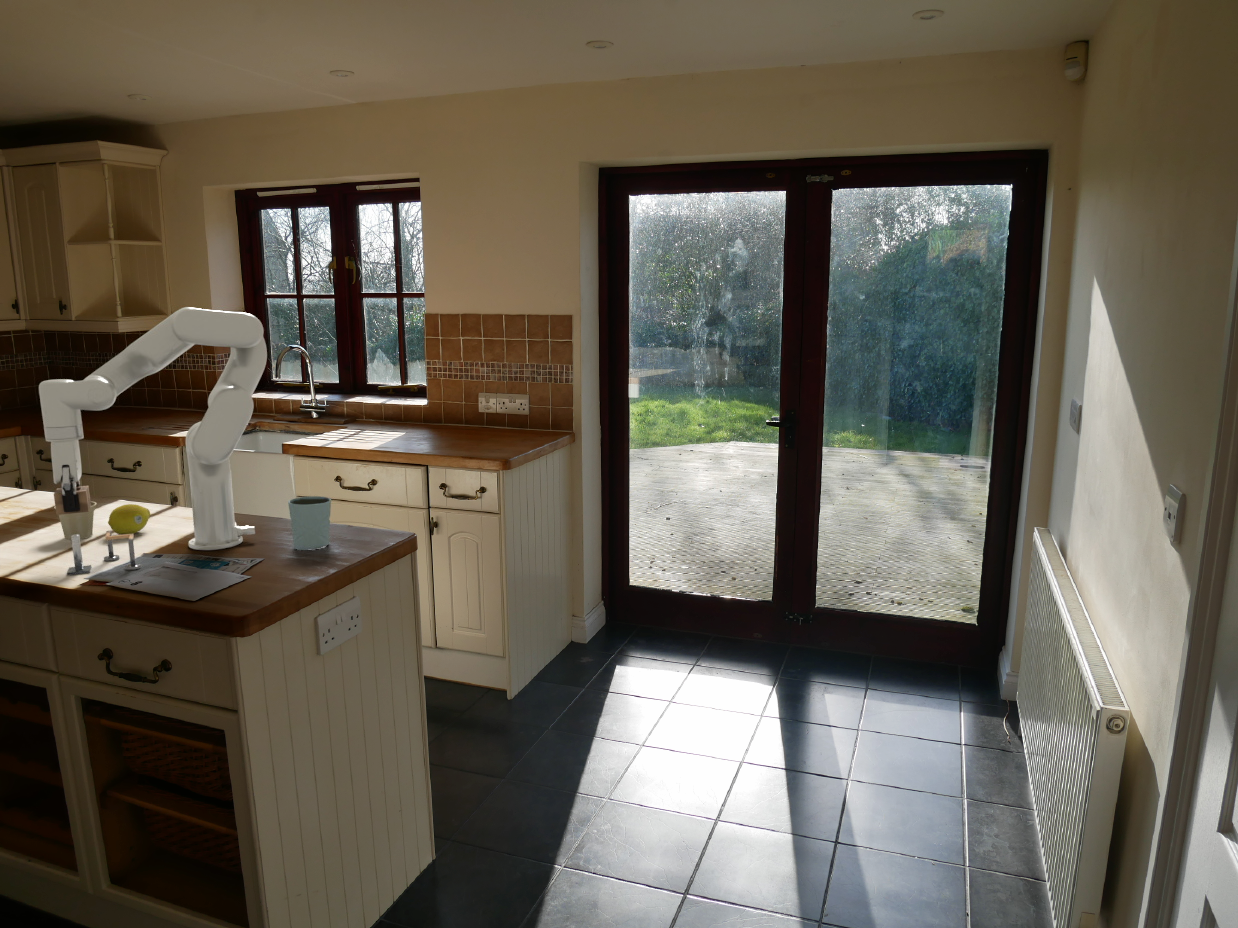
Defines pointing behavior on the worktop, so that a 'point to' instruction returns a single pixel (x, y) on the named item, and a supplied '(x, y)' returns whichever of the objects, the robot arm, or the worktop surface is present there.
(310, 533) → the light blue cup
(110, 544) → the buzz wire
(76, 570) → the peg stand
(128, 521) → the lemon
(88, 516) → the flower pot
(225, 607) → the worktop surface
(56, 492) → the open wooden box
